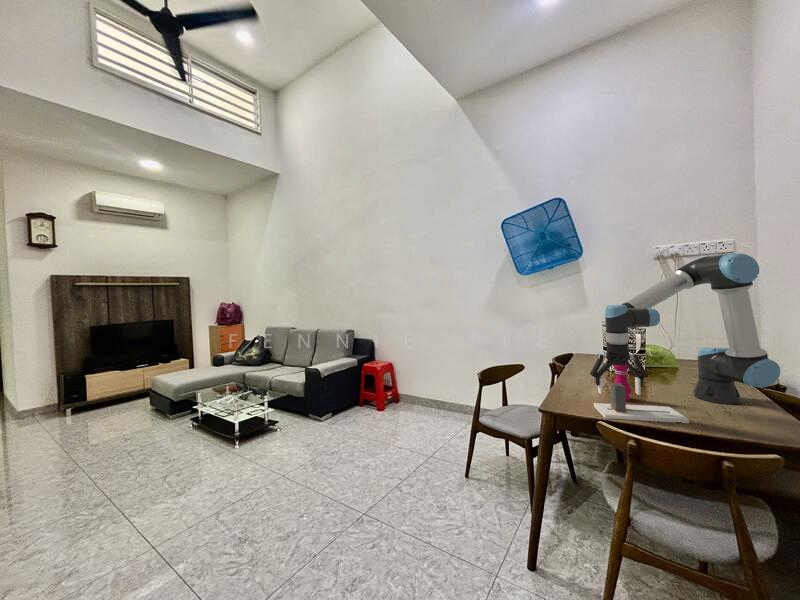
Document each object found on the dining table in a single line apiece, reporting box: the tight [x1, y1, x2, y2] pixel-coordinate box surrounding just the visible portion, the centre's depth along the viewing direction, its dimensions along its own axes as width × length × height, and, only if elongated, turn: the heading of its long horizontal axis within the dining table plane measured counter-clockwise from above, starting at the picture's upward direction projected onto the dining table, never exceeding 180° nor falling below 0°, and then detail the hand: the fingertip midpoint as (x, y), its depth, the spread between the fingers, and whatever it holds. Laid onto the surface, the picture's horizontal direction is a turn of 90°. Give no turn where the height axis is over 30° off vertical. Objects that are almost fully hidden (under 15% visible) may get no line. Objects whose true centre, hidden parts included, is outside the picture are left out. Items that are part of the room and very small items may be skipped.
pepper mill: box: [612, 365, 632, 402], centre depth 145 cm, size 7×7×20 cm
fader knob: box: [610, 382, 627, 411], centre depth 130 cm, size 4×5×10 cm
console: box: [593, 402, 690, 424], centre depth 128 cm, size 28×13×2 cm, turn 75°
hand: (619, 393), depth 129 cm, fingers open, 13 cm apart
